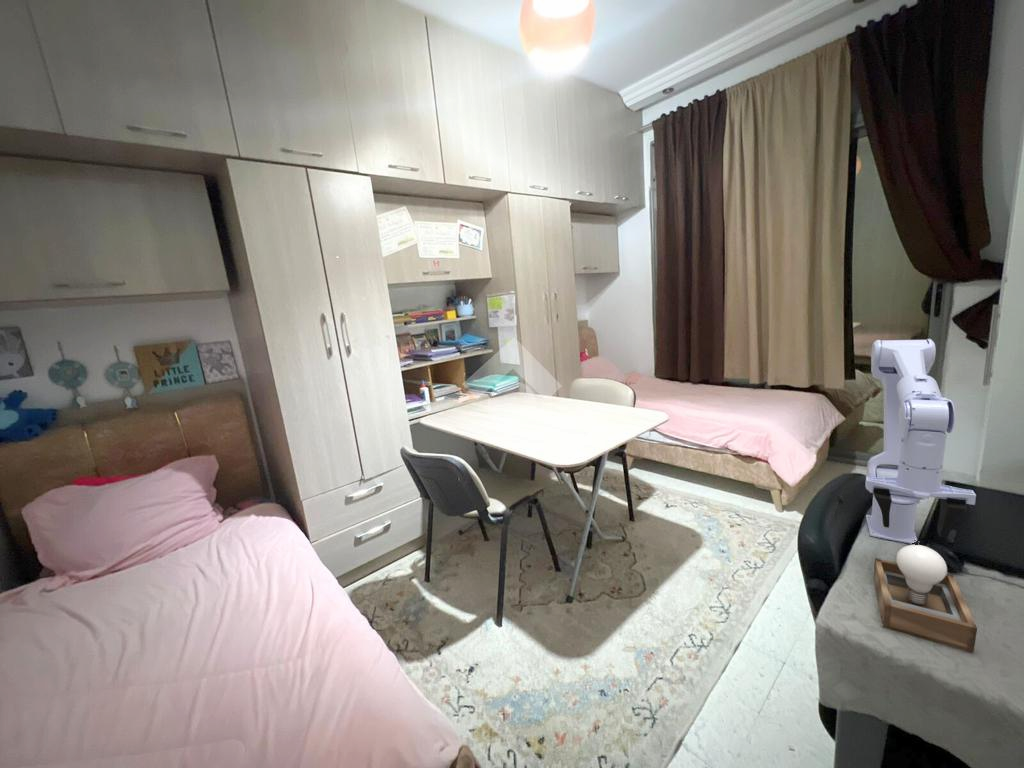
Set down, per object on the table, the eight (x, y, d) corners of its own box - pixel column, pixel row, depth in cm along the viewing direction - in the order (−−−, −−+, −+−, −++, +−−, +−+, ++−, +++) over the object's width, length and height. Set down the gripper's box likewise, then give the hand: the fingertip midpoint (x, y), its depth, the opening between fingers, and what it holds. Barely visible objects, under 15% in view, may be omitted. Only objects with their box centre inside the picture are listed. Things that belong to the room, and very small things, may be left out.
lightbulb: (950, 618, 71) (959, 561, 68) (904, 612, 73) (910, 557, 70) (927, 592, 76) (934, 539, 74) (885, 587, 78) (890, 535, 76)
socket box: (873, 578, 82) (875, 557, 81) (949, 596, 76) (952, 574, 75) (882, 627, 71) (885, 604, 70) (973, 653, 65) (977, 628, 64)
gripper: (870, 465, 77) (865, 530, 80) (985, 478, 69) (974, 551, 72) (866, 451, 83) (861, 513, 86) (972, 462, 74) (962, 530, 77)
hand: (912, 529), depth 79 cm, fingers open, 7 cm apart
